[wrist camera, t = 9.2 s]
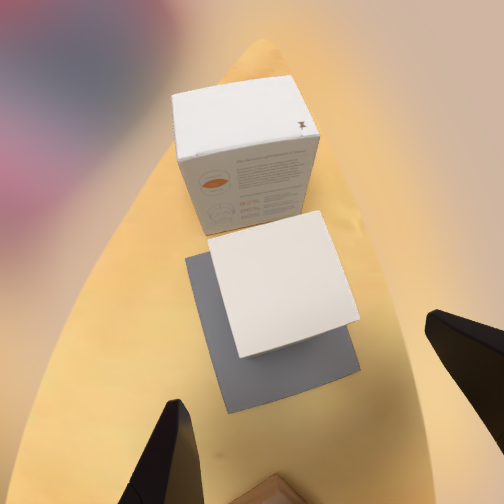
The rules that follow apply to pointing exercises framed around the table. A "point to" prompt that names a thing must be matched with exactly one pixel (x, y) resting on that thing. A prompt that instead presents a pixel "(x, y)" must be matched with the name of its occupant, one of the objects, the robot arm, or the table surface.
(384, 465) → the table surface
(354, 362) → the felt coaster
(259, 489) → the walnut block
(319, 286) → the tea tin
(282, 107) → the small box
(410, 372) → the table surface
